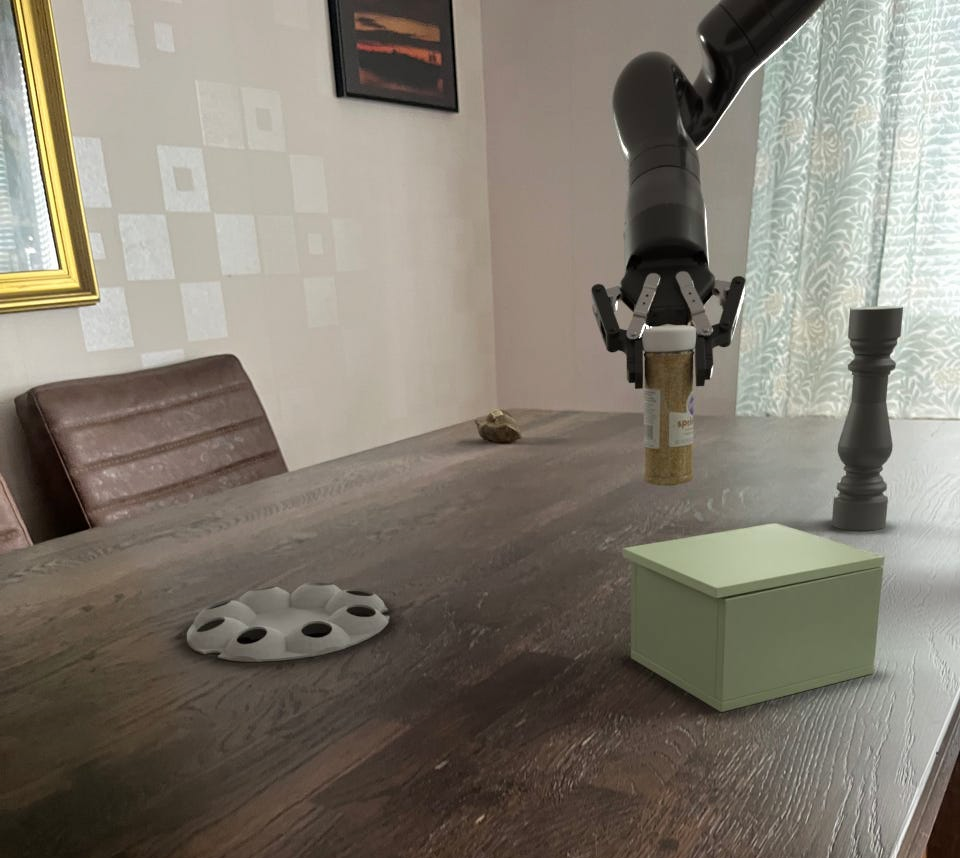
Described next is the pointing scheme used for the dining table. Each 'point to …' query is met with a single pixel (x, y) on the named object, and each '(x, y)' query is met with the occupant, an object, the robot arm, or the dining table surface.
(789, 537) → the lid
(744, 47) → the robot arm
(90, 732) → the dining table surface
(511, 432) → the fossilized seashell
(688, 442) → the sprinkles bottle
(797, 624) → the chest
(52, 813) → the dining table surface
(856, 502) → the candle holder
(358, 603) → the round palette
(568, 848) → the dining table surface
